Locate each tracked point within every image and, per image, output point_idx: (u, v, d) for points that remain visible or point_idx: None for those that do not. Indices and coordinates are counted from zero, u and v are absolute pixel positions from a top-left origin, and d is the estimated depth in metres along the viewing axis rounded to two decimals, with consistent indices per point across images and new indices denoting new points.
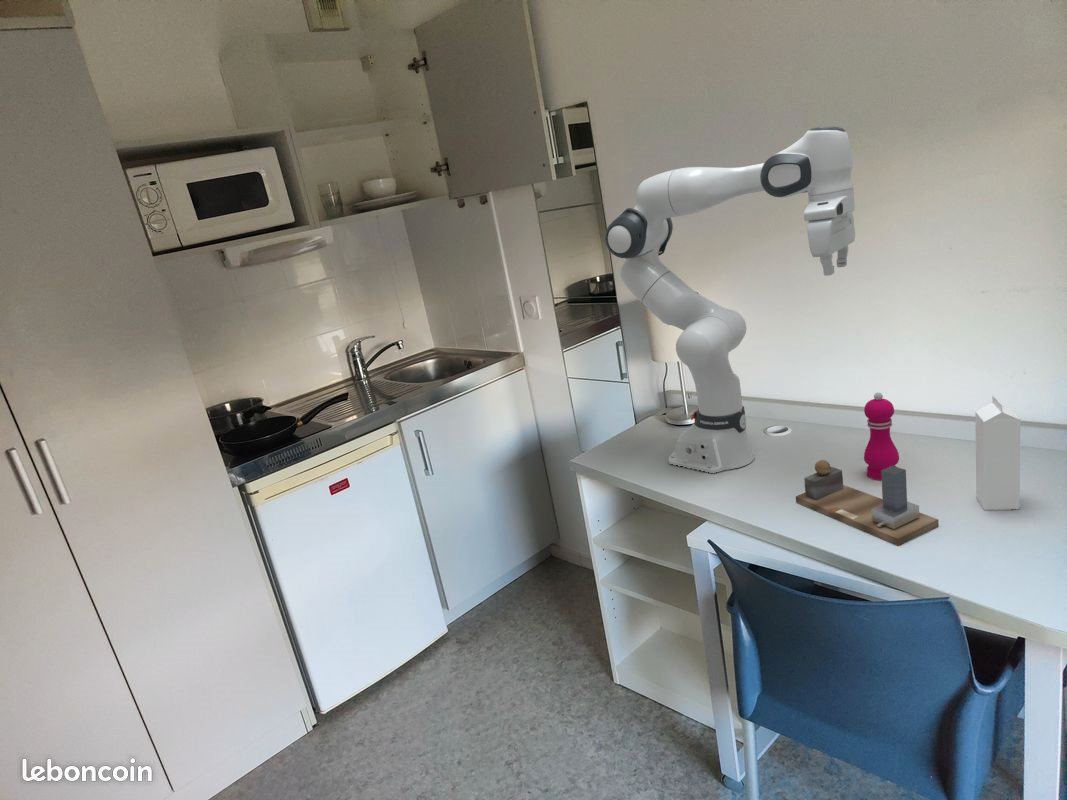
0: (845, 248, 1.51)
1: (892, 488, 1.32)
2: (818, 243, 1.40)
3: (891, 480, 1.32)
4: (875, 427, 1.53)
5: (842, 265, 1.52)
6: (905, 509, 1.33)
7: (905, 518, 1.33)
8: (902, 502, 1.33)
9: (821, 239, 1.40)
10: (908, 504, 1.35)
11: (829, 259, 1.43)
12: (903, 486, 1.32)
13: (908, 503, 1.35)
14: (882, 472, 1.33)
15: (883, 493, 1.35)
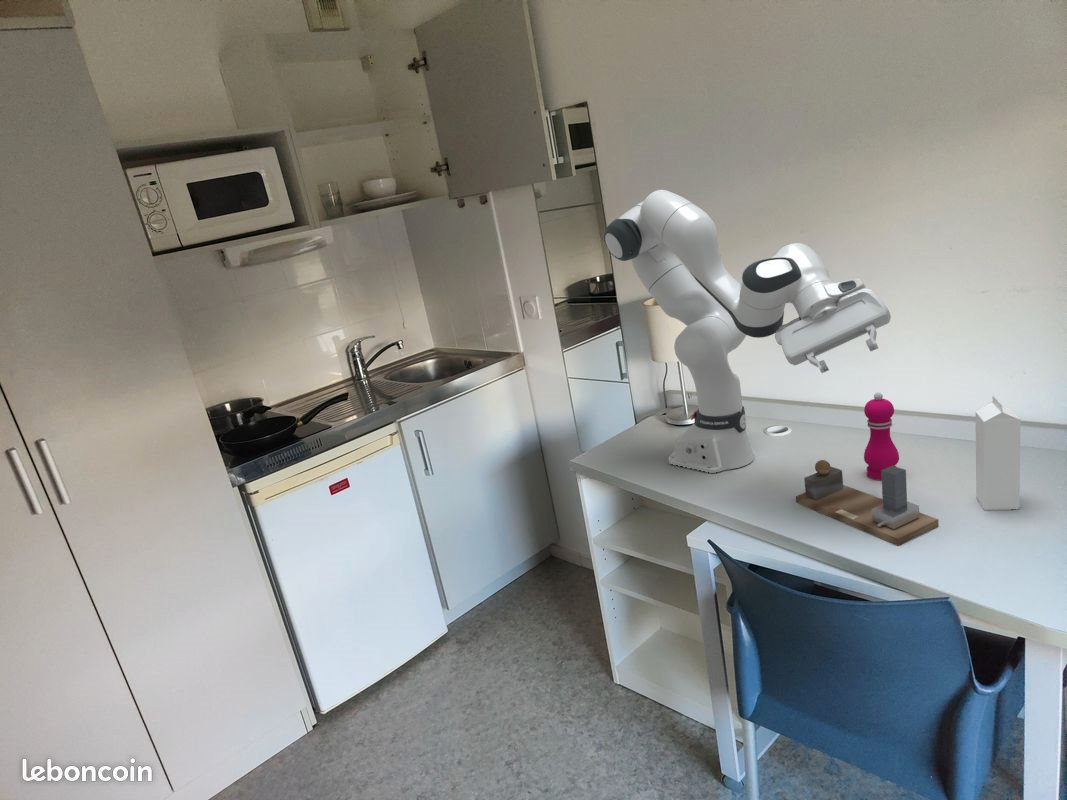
0: (815, 358, 1.35)
1: (892, 488, 1.32)
2: None
3: (891, 480, 1.32)
4: (875, 427, 1.53)
5: (827, 368, 1.32)
6: (905, 509, 1.33)
7: (905, 518, 1.33)
8: (902, 502, 1.33)
9: None
10: (908, 504, 1.35)
11: (876, 332, 1.31)
12: (903, 486, 1.32)
13: (908, 503, 1.35)
14: (882, 472, 1.33)
15: (883, 493, 1.35)
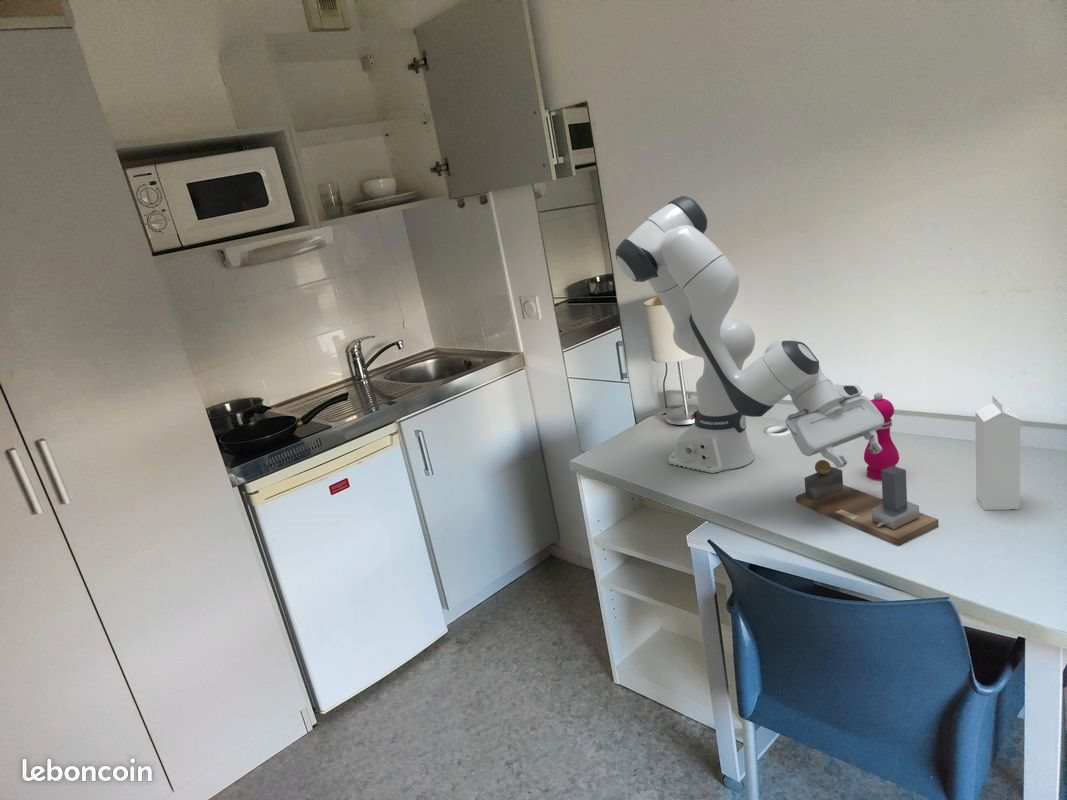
0: None
1: (892, 488, 1.32)
2: None
3: (891, 480, 1.32)
4: None
5: None
6: (905, 509, 1.33)
7: (905, 518, 1.33)
8: (902, 502, 1.33)
9: None
10: (908, 504, 1.35)
11: None
12: (903, 486, 1.32)
13: (908, 503, 1.35)
14: (882, 472, 1.33)
15: (883, 493, 1.35)
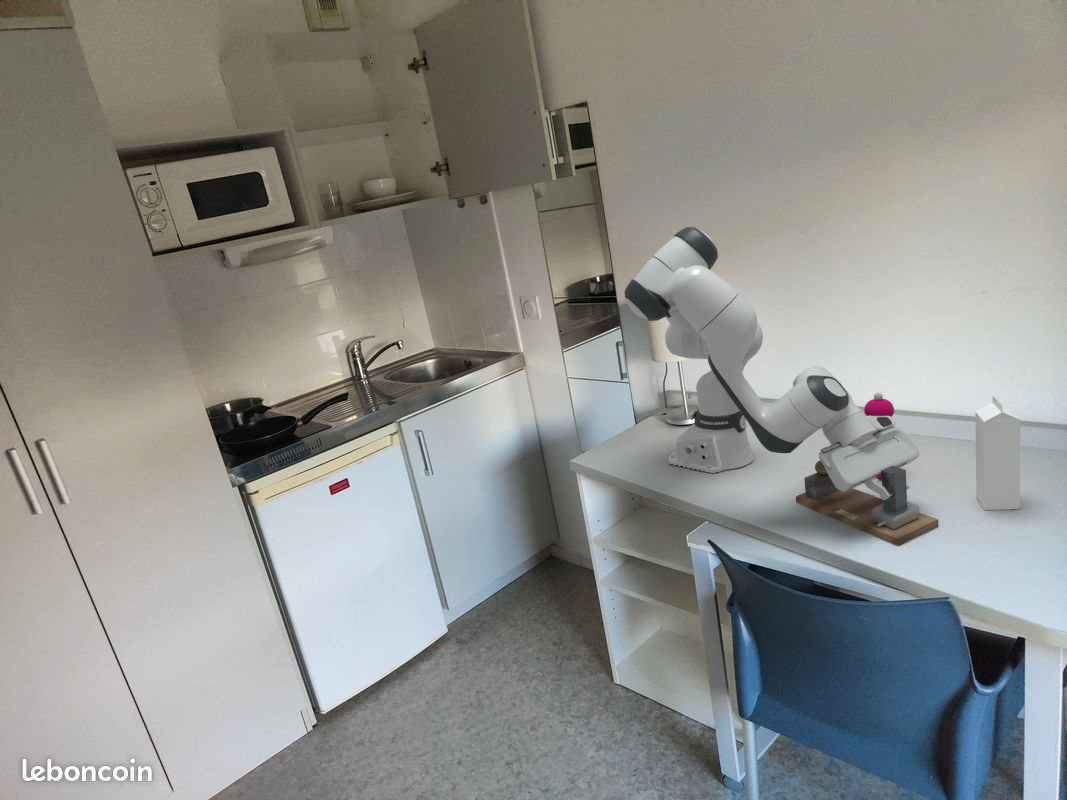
0: None
1: (892, 488, 1.32)
2: None
3: (891, 480, 1.32)
4: None
5: None
6: (905, 509, 1.33)
7: (905, 518, 1.33)
8: (902, 502, 1.33)
9: None
10: (908, 504, 1.35)
11: None
12: (903, 486, 1.32)
13: (908, 503, 1.35)
14: (882, 472, 1.33)
15: None
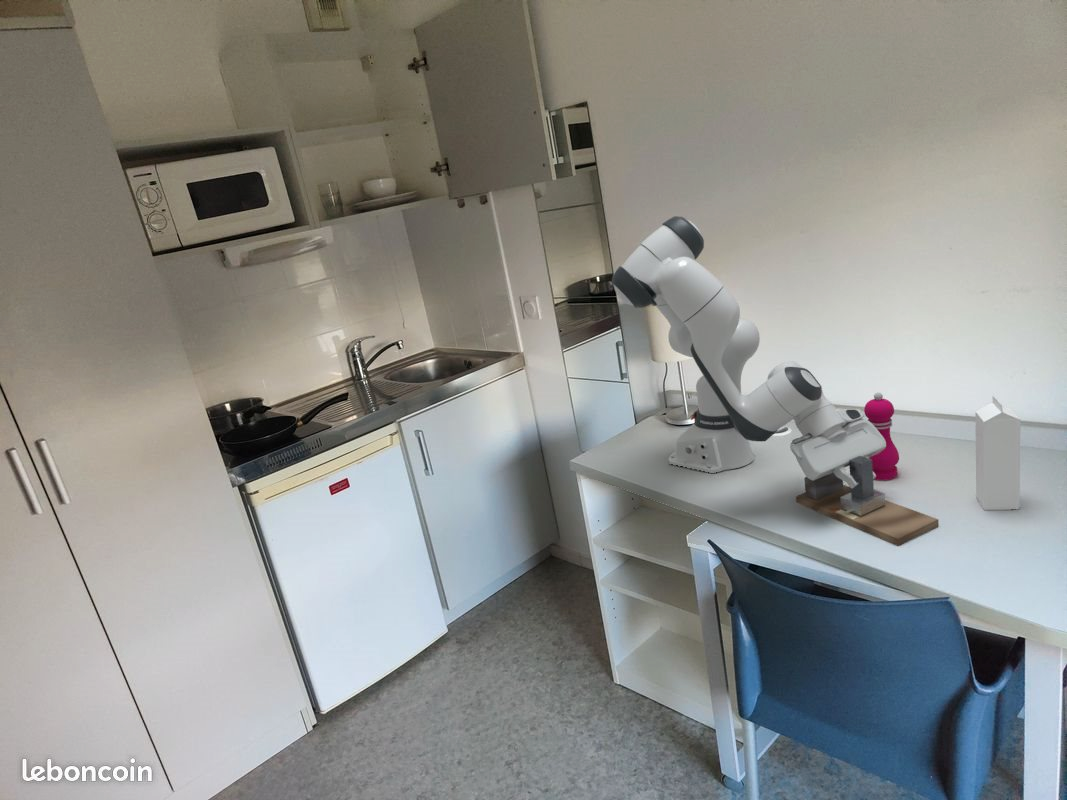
0: None
1: (859, 476, 1.39)
2: None
3: (858, 469, 1.39)
4: (875, 427, 1.53)
5: None
6: (872, 497, 1.40)
7: (872, 505, 1.40)
8: (869, 490, 1.40)
9: None
10: (875, 492, 1.42)
11: None
12: (870, 475, 1.39)
13: (875, 491, 1.42)
14: (850, 462, 1.40)
15: None
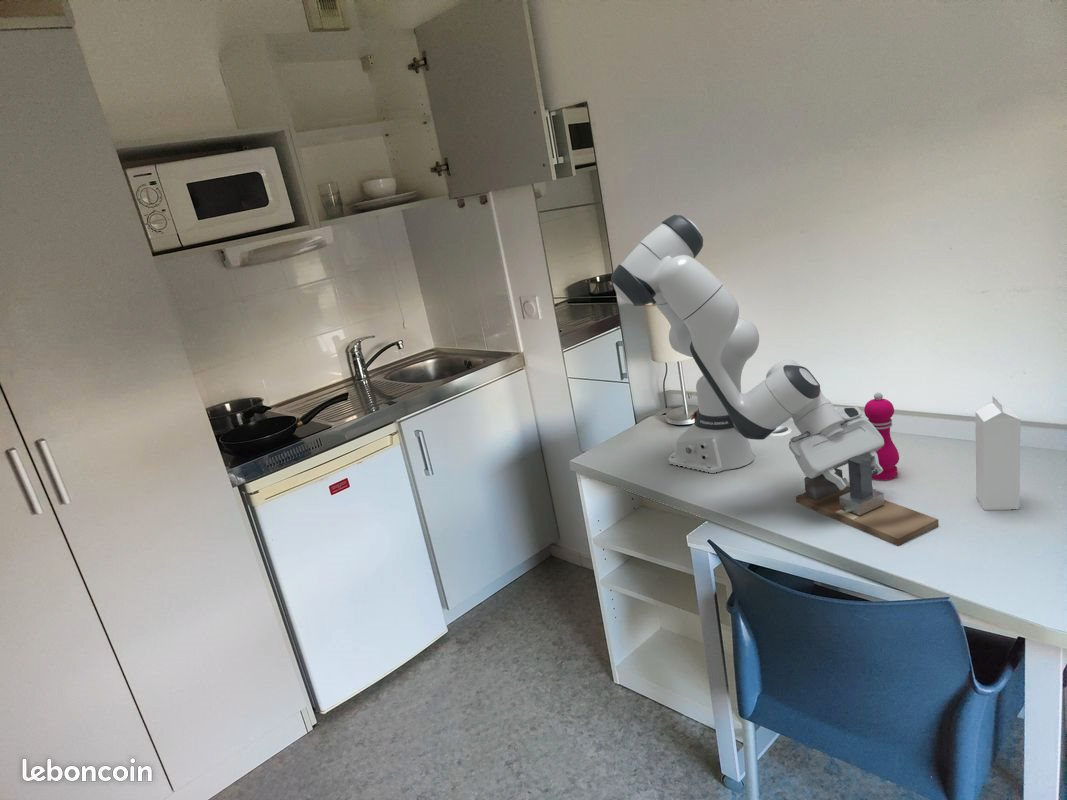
0: None
1: (858, 476, 1.39)
2: None
3: (857, 469, 1.39)
4: (875, 427, 1.53)
5: None
6: (871, 496, 1.40)
7: (870, 505, 1.40)
8: (867, 490, 1.40)
9: None
10: (874, 492, 1.42)
11: None
12: (868, 474, 1.40)
13: (874, 491, 1.42)
14: (849, 461, 1.40)
15: (850, 481, 1.42)
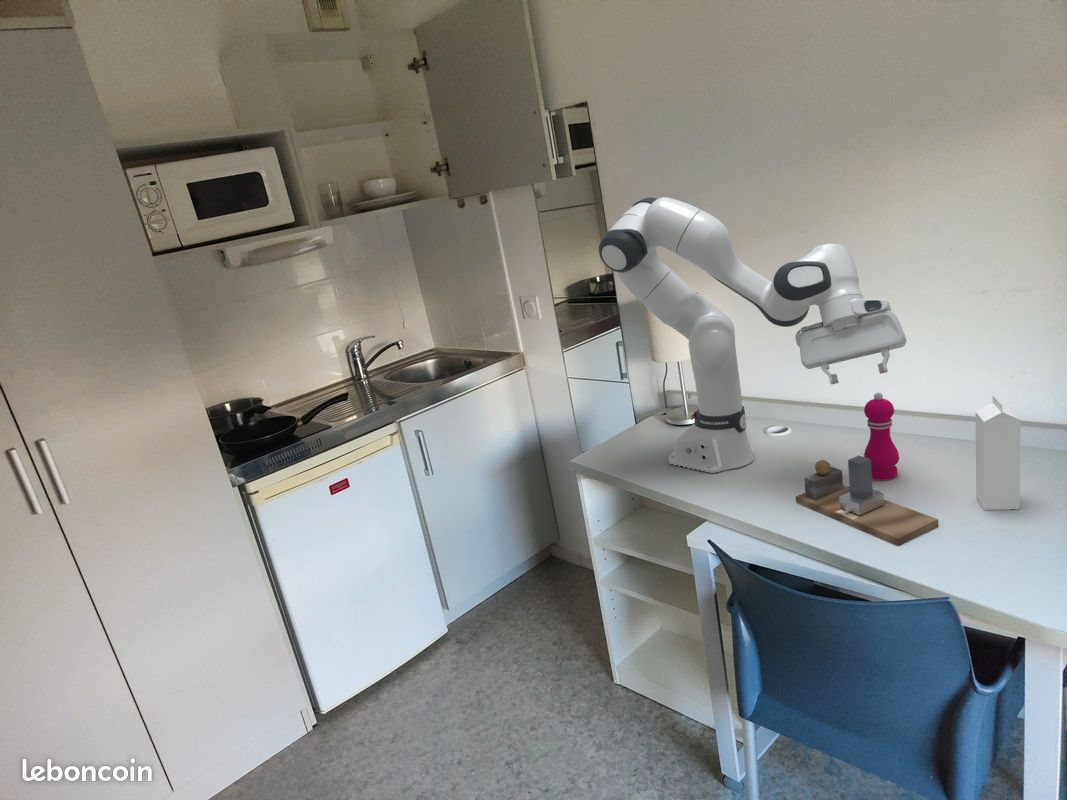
0: None
1: (858, 476, 1.39)
2: None
3: (857, 469, 1.39)
4: (875, 427, 1.53)
5: (837, 381, 1.44)
6: (871, 496, 1.40)
7: (870, 505, 1.40)
8: (867, 490, 1.40)
9: None
10: (874, 492, 1.42)
11: (889, 354, 1.40)
12: (868, 474, 1.40)
13: (874, 491, 1.42)
14: (849, 461, 1.40)
15: (850, 481, 1.42)
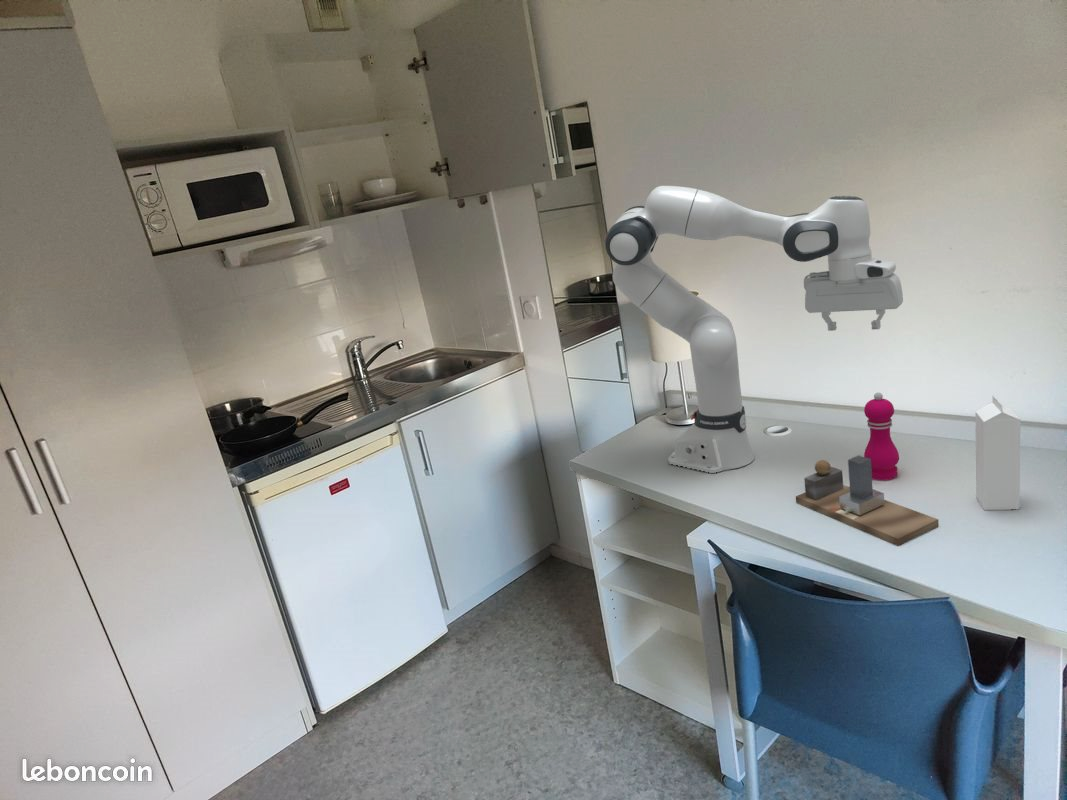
0: (830, 313, 1.60)
1: (858, 476, 1.39)
2: (900, 294, 1.48)
3: (857, 469, 1.39)
4: (875, 427, 1.53)
5: (835, 328, 1.60)
6: (871, 496, 1.40)
7: (870, 505, 1.40)
8: (867, 490, 1.40)
9: (900, 290, 1.49)
10: (874, 492, 1.42)
11: (884, 312, 1.52)
12: (868, 474, 1.40)
13: (874, 491, 1.42)
14: (849, 461, 1.40)
15: (850, 481, 1.42)
